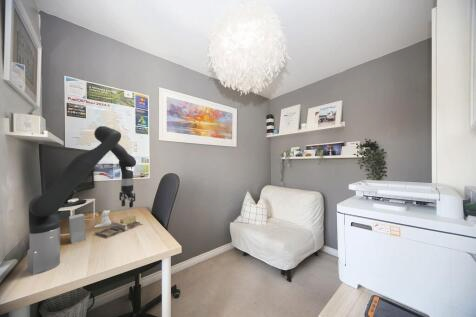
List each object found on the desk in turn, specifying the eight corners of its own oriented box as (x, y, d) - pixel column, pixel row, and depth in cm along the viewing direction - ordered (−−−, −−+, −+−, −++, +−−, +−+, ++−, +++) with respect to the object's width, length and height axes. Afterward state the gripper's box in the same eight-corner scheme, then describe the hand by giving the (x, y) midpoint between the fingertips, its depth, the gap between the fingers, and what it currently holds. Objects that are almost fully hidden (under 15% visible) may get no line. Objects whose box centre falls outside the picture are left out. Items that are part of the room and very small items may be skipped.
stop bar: (132, 223, 127) (132, 215, 127) (135, 224, 126) (135, 216, 126) (120, 227, 119) (120, 219, 119) (123, 228, 118) (123, 220, 118)
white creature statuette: (103, 224, 130) (103, 208, 130) (114, 223, 130) (114, 208, 131) (93, 228, 121) (93, 212, 121) (106, 228, 121) (105, 211, 121)
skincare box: (86, 241, 101) (85, 215, 101) (69, 246, 96) (69, 218, 96) (84, 237, 107) (84, 212, 107) (68, 241, 102) (68, 215, 102)
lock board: (106, 240, 102) (106, 232, 102) (91, 236, 109) (91, 228, 109) (143, 225, 125) (143, 218, 125) (129, 222, 132) (129, 216, 132)
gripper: (138, 184, 124) (138, 206, 123) (126, 183, 129) (125, 204, 129) (128, 185, 117) (128, 209, 116) (115, 184, 122) (115, 207, 122)
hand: (127, 206), depth 123 cm, fingers open, 8 cm apart
